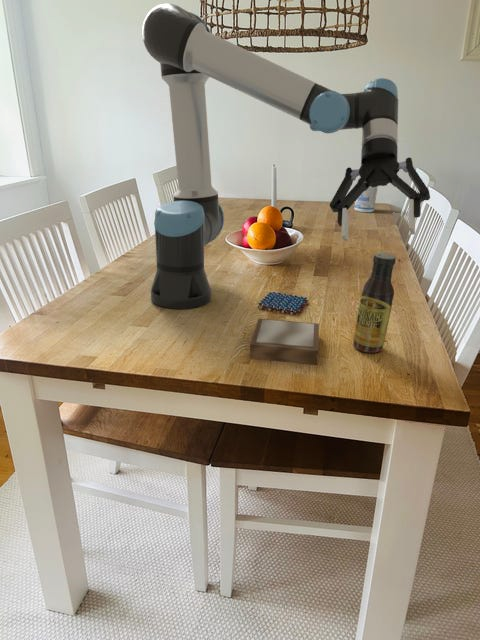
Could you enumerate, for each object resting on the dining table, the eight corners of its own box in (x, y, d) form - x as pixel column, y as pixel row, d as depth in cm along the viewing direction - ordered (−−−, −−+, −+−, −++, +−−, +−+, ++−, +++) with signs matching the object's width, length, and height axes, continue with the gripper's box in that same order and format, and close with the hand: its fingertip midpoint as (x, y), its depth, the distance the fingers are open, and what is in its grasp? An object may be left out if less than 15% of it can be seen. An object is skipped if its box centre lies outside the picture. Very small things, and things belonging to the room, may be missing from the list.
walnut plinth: (249, 358, 95) (250, 343, 94) (257, 330, 107) (258, 317, 106) (316, 364, 94) (318, 349, 93) (317, 336, 106) (318, 322, 104)
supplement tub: (352, 211, 239) (356, 180, 233) (355, 208, 247) (359, 178, 241) (373, 213, 236) (377, 182, 230) (375, 210, 244) (379, 179, 238)
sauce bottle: (347, 348, 101) (359, 254, 93) (360, 338, 105) (373, 248, 97) (377, 358, 97) (392, 261, 89) (389, 347, 102) (405, 254, 94)
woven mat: (298, 318, 116) (299, 310, 115) (256, 311, 119) (256, 303, 118) (309, 303, 125) (310, 296, 124) (270, 297, 128) (270, 290, 127)
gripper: (442, 145, 104) (444, 236, 98) (328, 165, 115) (323, 248, 109) (439, 123, 98) (441, 219, 92) (318, 146, 109) (313, 233, 103)
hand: (377, 235), depth 101 cm, fingers open, 13 cm apart
